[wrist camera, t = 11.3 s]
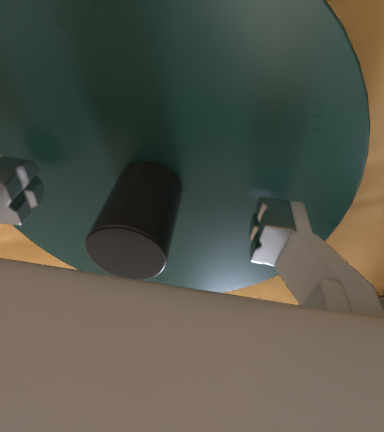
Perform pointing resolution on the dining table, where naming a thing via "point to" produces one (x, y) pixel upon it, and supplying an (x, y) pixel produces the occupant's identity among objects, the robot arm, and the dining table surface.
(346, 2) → the dining table surface
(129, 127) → the lid
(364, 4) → the dining table surface
